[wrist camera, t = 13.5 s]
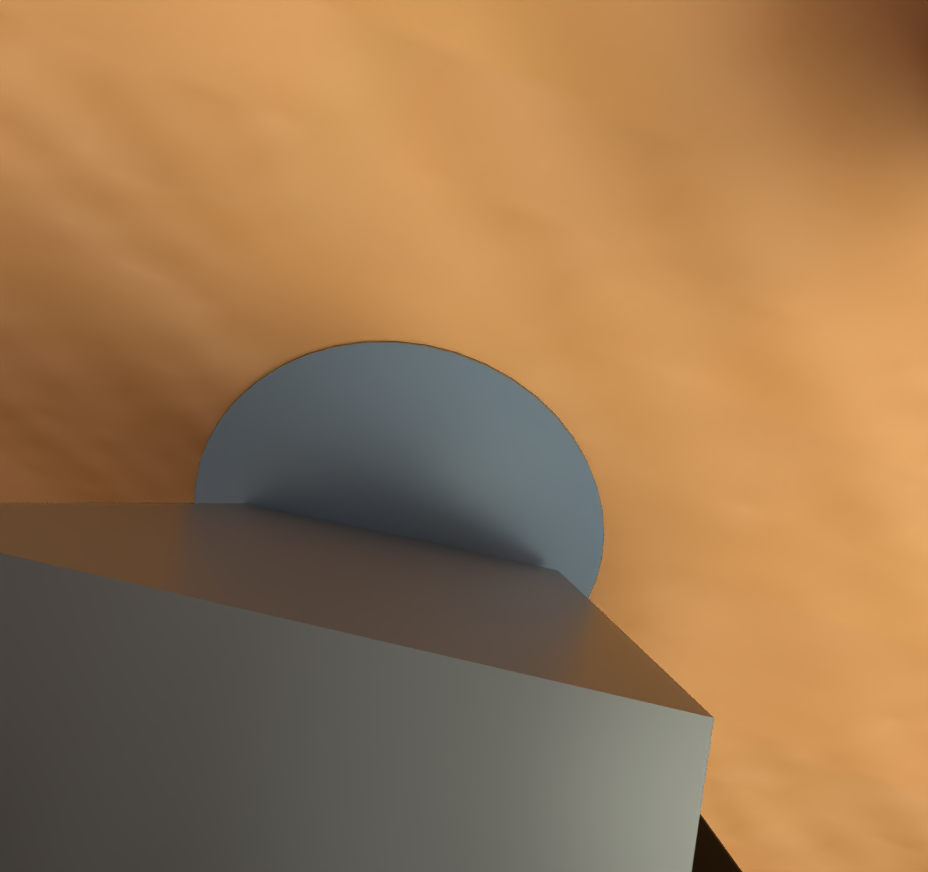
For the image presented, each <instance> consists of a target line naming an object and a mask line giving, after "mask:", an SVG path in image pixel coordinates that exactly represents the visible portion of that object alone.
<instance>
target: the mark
mask: <svg viewBox="0 0 928 872" xmlns="http://www.w3.org/2000/svg"><path fill="white" fill-rule="evenodd" d="M195 503H244V504H249V505H254V506H259V507H264V508H269V509H273V510H278V511H283V512H288V513H293V514H298V515H302V516H307V517H312V518H317V519H322V520H327V521H331V522H336V523H341V524H346V525H351V526H356V527H360V528H365V529H369V530H374V531H379V532H383V533H388V534H393V535H397V536H402V537H406V538H411V539H416V540H420V541H425V542H429V543H434V544H439V545H443V546H448V547H452V548H457V549H462V550H466V551H471V552H476V553H480V554H485V555H489V556H494V557H499V558H503V559H508V560H512V561H517V562H522V563H526V564H531V565H535V566H540V567H545V568H549V569H554V570H558V571H559V572H560V573H562V574H563V575H564V576H565V577H566V578H567V579H568V580H569V581H570V582H571V583H572V584H573V585H574V586H575V587H576V588H577V589H578V590H579V591H581V592H582V593H583V594H584V595H585V596H586V597H587V598H588V597H589V595H590V593H591V590H592V588H593V586H594V584H595V581H596V579H597V575H598V571H599V567H600V563H601V559H602V551H603V541H604V526H603V511H602V507H601V502H600V498H599V493H598V489H597V486H596V483H595V480H594V478H593V475H592V473H591V470H590V467H589V465H588V462H587V460H586V458H585V456H584V455H583V453H582V451H581V449H580V448H579V446H578V444H577V443H576V441H575V439H574V437H573V436H572V435H571V434H570V432H569V431H568V430H567V428H566V427H565V426H564V425H563V423H562V422H561V421H560V419H559V418H558V417H557V416H556V415H555V414H554V413H553V412H552V411H551V410H550V409H549V408H548V407H547V406H546V405H545V404H544V403H543V402H542V401H541V400H540V399H539V398H538V397H537V396H535V395H534V394H533V393H531V392H530V391H529V390H527V389H526V388H524V387H523V386H522V385H520V384H519V383H518V382H516V381H515V380H514V379H512V378H510V377H509V376H507V375H505V374H503V373H501V372H499V371H498V370H496V369H494V368H492V367H490V366H489V365H487V364H484V363H482V362H479V361H477V360H474V359H472V358H469V357H467V356H464V355H462V354H459V353H456V352H452V351H448V350H444V349H440V348H436V347H432V346H428V345H422V344H413V343H405V342H397V341H390V342H360V343H353V344H346V345H339V346H334V347H331V348H327V349H324V350H320V351H317V352H313V353H310V354H307V355H305V356H302V357H300V358H298V359H296V360H293V361H291V362H289V363H287V364H284V365H282V366H281V367H279V368H278V369H276V370H274V371H273V372H271V373H270V374H268V375H267V376H265V377H263V378H262V379H260V380H259V381H258V382H256V383H255V384H254V385H253V386H252V387H251V388H249V389H248V390H247V391H246V392H245V393H244V394H243V395H241V396H240V397H239V398H238V399H237V400H236V401H235V402H234V403H233V405H232V406H231V407H230V408H229V410H228V411H227V412H226V413H225V414H224V416H223V417H222V418H221V419H220V421H219V423H218V424H217V426H216V428H215V429H214V431H213V433H212V435H211V436H210V438H209V440H208V442H207V445H206V447H205V450H204V453H203V455H202V458H201V461H200V464H199V469H198V474H197V479H196V484H195Z"/></svg>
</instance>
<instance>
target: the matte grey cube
mask: <svg viewBox="0 0 928 872" xmlns="http://www.w3.org/2000/svg"><path fill="white" fill-rule="evenodd" d="M713 722H714V717H712V716H711V715H710V714H709V713H708V712H707V711H706V710H705V709H704V708H703V707H702V706H701V705H700V704H699V703H698V702H697V701H696V700H695V699H693V698H692V697H691V696H690V695H689V694H688V693H687V692H686V691H685V690H684V689H683V688H682V687H681V686H680V685H679V684H678V683H677V682H676V681H674V680H673V679H672V678H671V677H670V676H669V675H668V674H667V673H666V672H665V671H664V670H663V669H662V668H661V667H660V666H659V665H658V664H657V663H655V662H654V661H653V660H652V659H651V658H650V657H649V656H648V655H647V654H646V653H645V652H644V651H643V650H642V649H641V648H640V647H639V646H638V645H636V644H635V643H634V642H633V641H632V640H631V639H630V638H629V637H628V636H627V635H626V634H625V633H624V632H623V631H622V630H621V629H620V628H619V627H617V626H616V625H615V624H614V623H613V622H612V621H611V620H610V619H609V618H608V617H607V616H606V615H605V614H604V613H603V612H602V611H601V610H600V609H598V608H597V607H596V606H595V605H594V604H593V603H592V602H591V601H590V600H589V599H588V598H587V597H586V596H585V595H584V594H583V593H582V592H581V591H579V590H578V589H577V588H576V587H575V586H574V585H573V584H572V583H571V582H570V581H569V580H568V579H567V578H566V577H565V576H564V575H563V574H562V573H560V572H559V571H558V570H554V569H549V568H545V567H540V566H535V565H531V564H526V563H522V562H517V561H512V560H508V559H503V558H499V557H494V556H489V555H485V554H480V553H476V552H471V551H466V550H462V549H457V548H452V547H448V546H443V545H439V544H434V543H429V542H425V541H420V540H416V539H411V538H406V537H402V536H397V535H393V534H388V533H383V532H379V531H374V530H369V529H365V528H360V527H356V526H351V525H346V524H341V523H336V522H331V521H327V520H322V519H317V518H312V517H307V516H302V515H298V514H293V513H288V512H283V511H278V510H273V509H269V508H264V507H259V506H254V505H249V504H244V503H0V872H692V865H693V858H694V851H695V845H696V838H697V831H698V824H699V817H700V810H701V804H702V797H703V790H704V783H705V776H706V769H707V763H708V756H709V749H710V742H711V735H712V728H713Z"/></svg>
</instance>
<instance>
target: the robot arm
mask: <svg viewBox="0 0 928 872" xmlns="http://www.w3.org/2000/svg"><path fill="white" fill-rule="evenodd" d="M692 872H742V871H741V869H740V868H739V867H738V865H737V864H736V862H735V861H734V860H733V858H732V857H731V856H730V854H729V853H728V851H727V850H726V849H725V847H724V846H723V845H722V843H721V842H720V840H719V839H718V838H717V836H716V835H715V833H714V832H713V831H712V829H711V828H710V827H709V825H708V824H707V822H706V821H705V820H704V818H703V817H702V816H701V814H700V817H699V824H698V831H697V838H696V845H695V851H694V858H693V865H692Z"/></svg>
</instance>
